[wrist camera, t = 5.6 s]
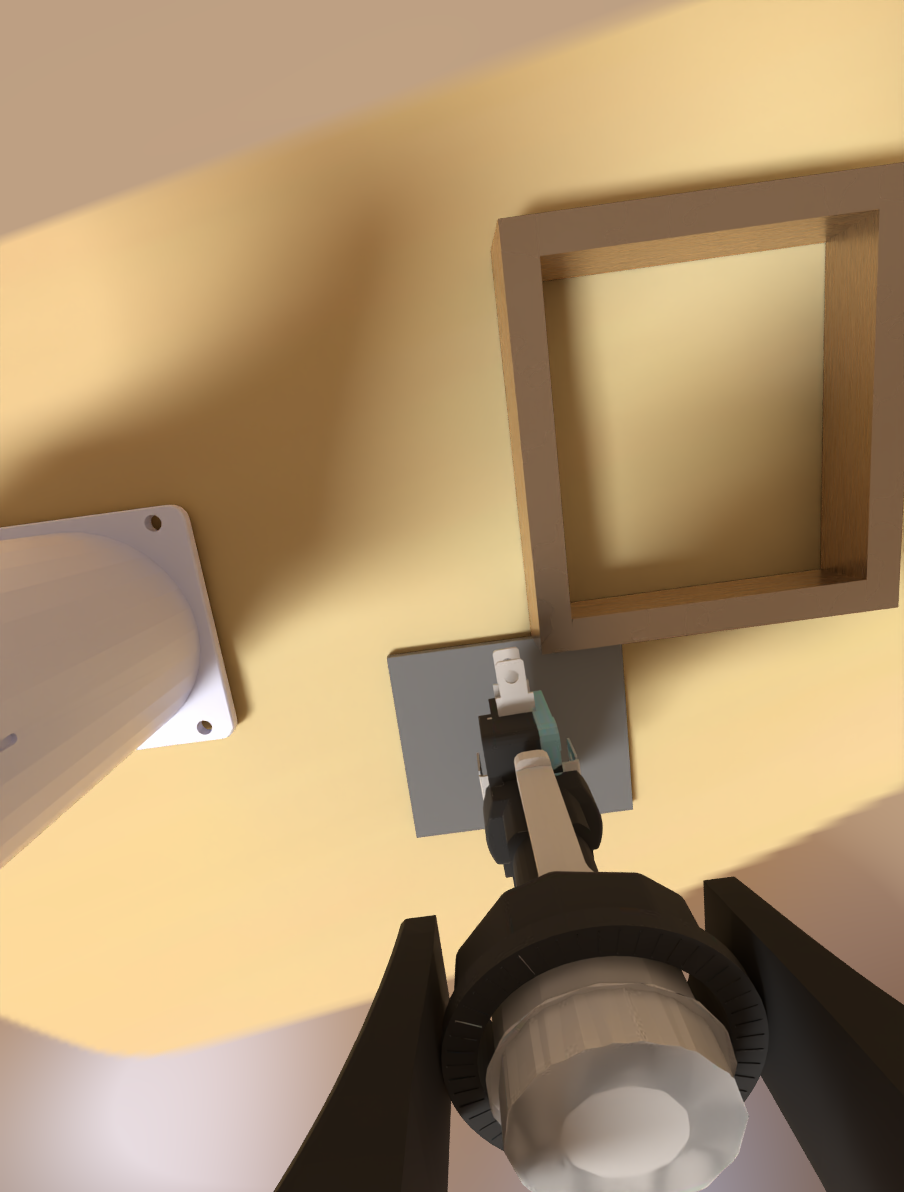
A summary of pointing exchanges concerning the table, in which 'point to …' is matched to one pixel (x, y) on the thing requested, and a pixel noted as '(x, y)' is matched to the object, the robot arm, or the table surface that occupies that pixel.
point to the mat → (460, 694)
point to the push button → (590, 991)
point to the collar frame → (850, 392)
